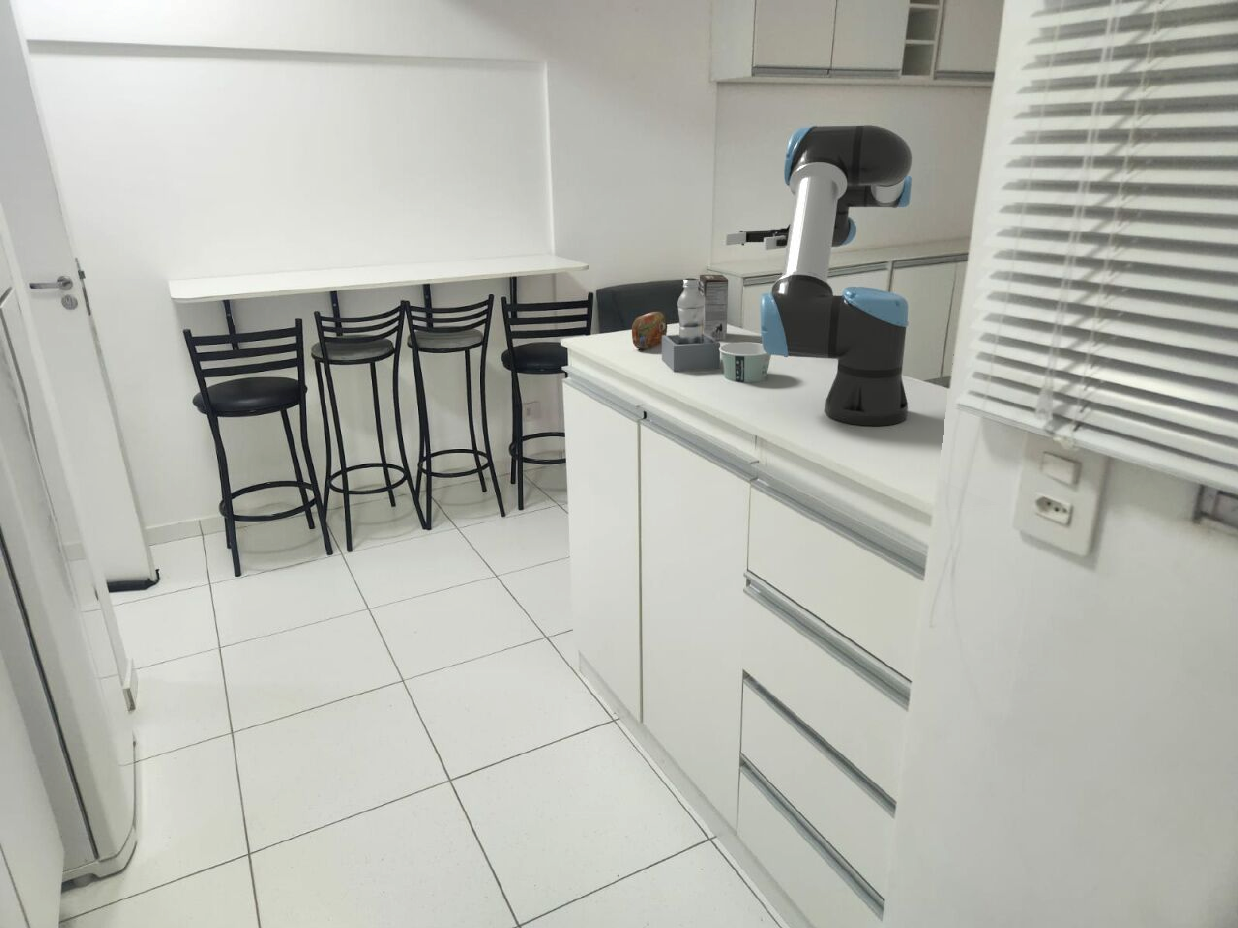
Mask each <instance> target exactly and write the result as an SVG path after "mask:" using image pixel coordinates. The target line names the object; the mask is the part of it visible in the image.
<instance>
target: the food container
mask: <svg viewBox="0 0 1238 928" xmlns="http://www.w3.org/2000/svg"><path fill="white" fill-rule="evenodd" d="M719 350H720V355H721V360H722V367H723V373H724V378H725V379H726V380H729V381H732V382H738V383H739V382H740V383H753V382H760V381H764V380H766V378H767V373H768V369H769V365H770V361H771V356H772V355H770V354H768V353H766V352H765V350H764V348H763V344H762V343H758V342H747V341H746V342H743V341H742V342H732V343H725V344H722V345H720V348H719Z"/></svg>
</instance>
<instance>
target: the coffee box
mask: <svg viewBox="0 0 1238 928" xmlns="http://www.w3.org/2000/svg"><path fill="white" fill-rule="evenodd" d="M699 285H700V287H699V291H700V293H701V294H702V296H703V297H704V300H705V306H704V313H703V320H702V333H707V334H708V335H709V336H711V337H712V338H714V339H715V340H716V341H720V340H721V341H722V340H723V341H724V340H726V341H727V336H728V335H727V334H728V333H727V332H728V331H727V329H728V328H727V325H728V305H729V279H728V278H726V277H725V276H724V275H723V274H700V275H699Z"/></svg>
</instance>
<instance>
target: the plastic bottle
mask: <svg viewBox="0 0 1238 928" xmlns="http://www.w3.org/2000/svg"><path fill="white" fill-rule="evenodd" d="M682 280H683V281H682V283H683V284H682V288H683V290H682V292H681V293H680V295H679V297H678V298H677V302H676V303H677V304H676V306H677V315H678V326H679V327H678V328H679V330H678V331H679V333H678V334H679V340H678V345H687V344H702V320H703V313H704V306H705V300H704V297H703V296H702V294H701V293H700V278H696V277H692V278H691V277H689V278H684V279H682Z"/></svg>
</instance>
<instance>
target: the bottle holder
mask: <svg viewBox="0 0 1238 928" xmlns="http://www.w3.org/2000/svg"><path fill="white" fill-rule="evenodd" d="M678 340H679V333H678V334H666V335H662V343H661V360H662V362H663V363H665V365H666V366H667V367H668V368H669V369H670V370H671V371H672V372H674V373H676V372H677V373H678V372H688V371H689V372H691V371H692V372H694V371H707V370H720V368H721V366H720V365H721V351H720V350H719V348H720V347H721V342H719V340H715V339H714V338H712V337H711V336H709V335H708V334H707V333H702V344H687V345H678Z"/></svg>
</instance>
